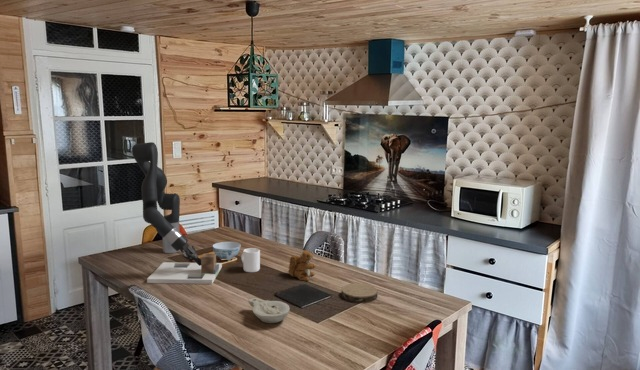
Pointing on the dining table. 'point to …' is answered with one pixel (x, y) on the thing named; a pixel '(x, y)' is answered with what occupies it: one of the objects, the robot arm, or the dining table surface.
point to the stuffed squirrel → (301, 266)
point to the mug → (251, 259)
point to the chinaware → (226, 249)
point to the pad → (210, 273)
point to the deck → (182, 274)
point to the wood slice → (359, 292)
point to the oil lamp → (269, 310)
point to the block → (208, 263)
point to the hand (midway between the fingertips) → (201, 264)
